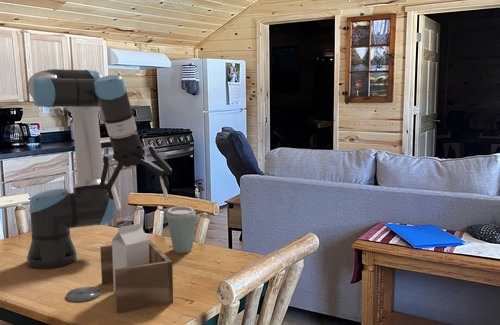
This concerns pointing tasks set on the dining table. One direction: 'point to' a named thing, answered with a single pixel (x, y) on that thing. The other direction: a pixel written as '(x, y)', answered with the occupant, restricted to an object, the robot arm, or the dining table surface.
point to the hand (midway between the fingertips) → (143, 202)
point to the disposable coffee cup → (181, 227)
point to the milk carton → (129, 248)
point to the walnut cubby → (139, 280)
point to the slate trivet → (83, 294)
